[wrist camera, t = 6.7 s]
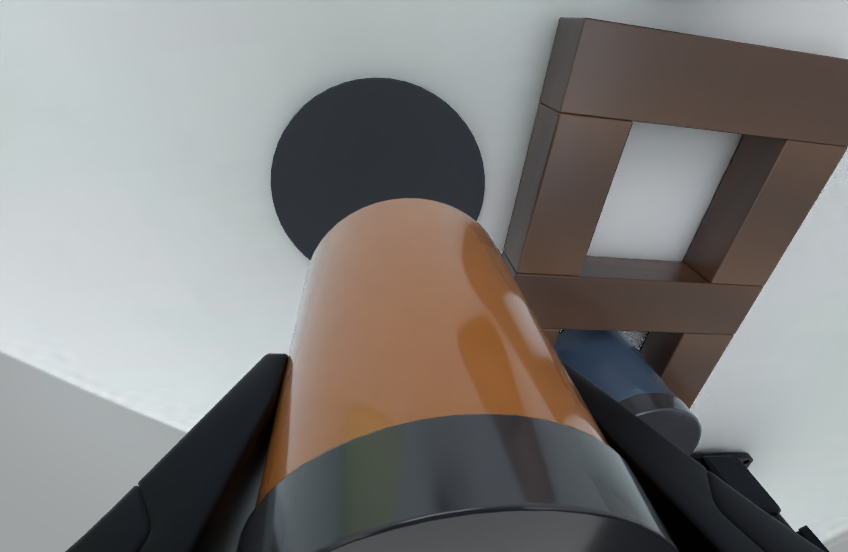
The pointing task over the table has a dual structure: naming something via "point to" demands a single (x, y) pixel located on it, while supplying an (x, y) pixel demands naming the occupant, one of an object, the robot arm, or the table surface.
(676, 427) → the spice jar
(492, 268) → the amber jar
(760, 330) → the table surface
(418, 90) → the coaster
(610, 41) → the jar stand
